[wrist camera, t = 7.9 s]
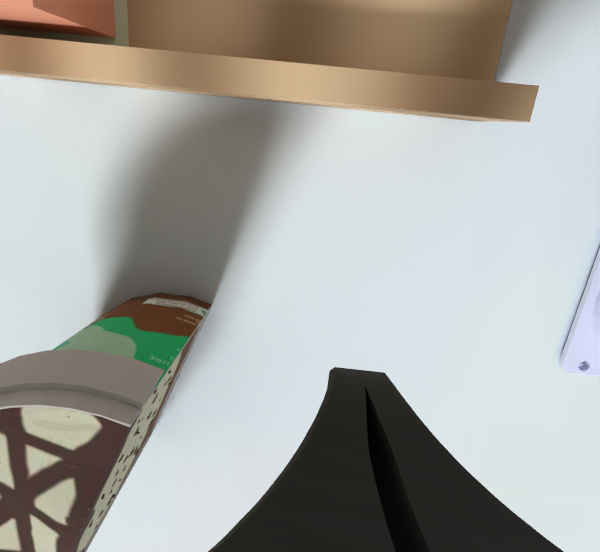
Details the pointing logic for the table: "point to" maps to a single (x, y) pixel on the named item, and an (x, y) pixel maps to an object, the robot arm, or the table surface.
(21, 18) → the clay-red block
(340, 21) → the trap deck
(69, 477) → the food container
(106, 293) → the table surface
